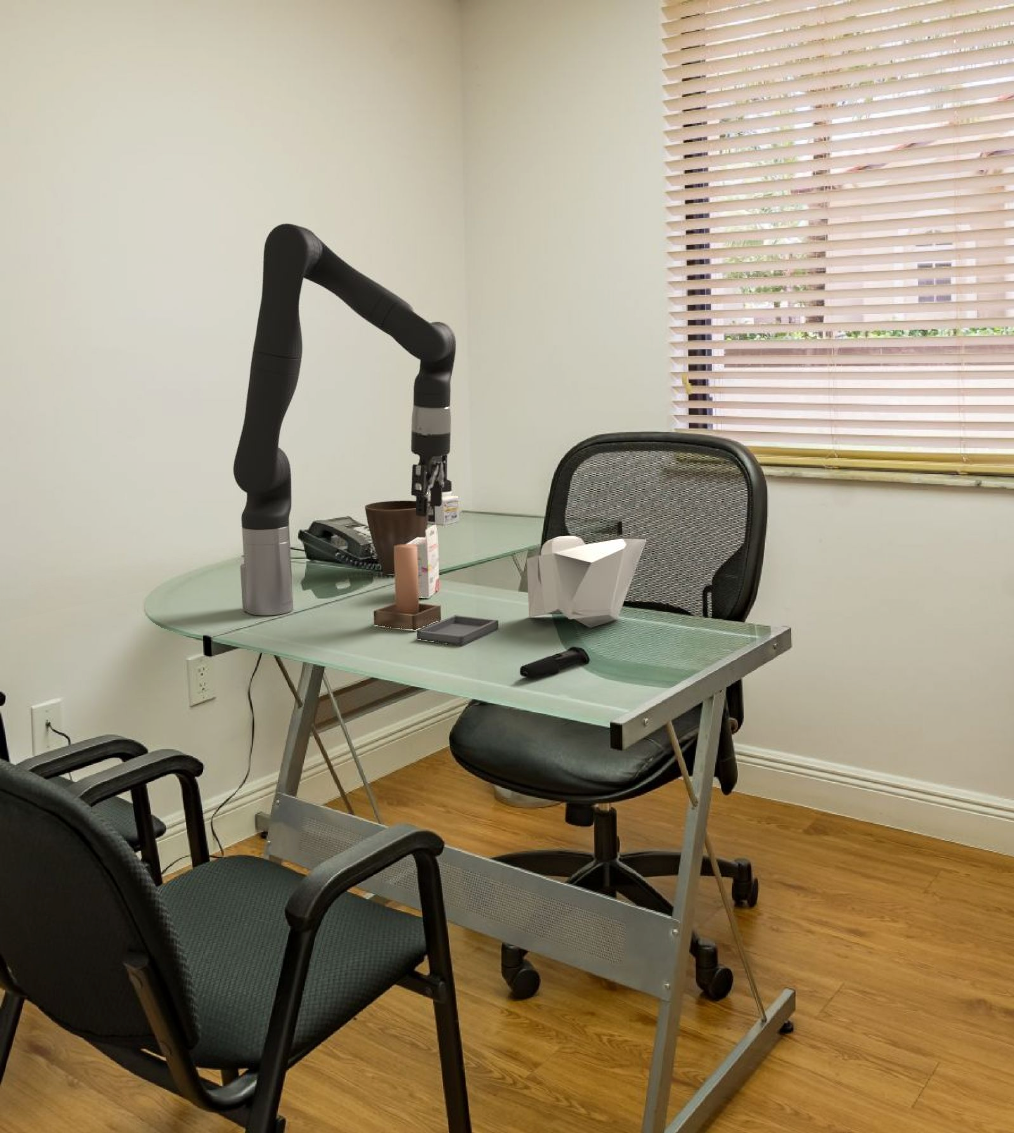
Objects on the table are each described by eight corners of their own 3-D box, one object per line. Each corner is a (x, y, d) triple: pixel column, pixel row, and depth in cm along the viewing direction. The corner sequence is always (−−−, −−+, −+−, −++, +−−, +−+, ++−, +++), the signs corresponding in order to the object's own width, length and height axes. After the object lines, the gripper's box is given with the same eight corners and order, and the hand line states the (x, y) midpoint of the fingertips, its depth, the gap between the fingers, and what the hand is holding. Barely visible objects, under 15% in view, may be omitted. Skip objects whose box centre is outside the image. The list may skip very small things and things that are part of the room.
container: (444, 525, 334) (443, 481, 332) (423, 523, 339) (422, 479, 336) (459, 521, 341) (458, 478, 338) (438, 519, 345) (437, 477, 342)
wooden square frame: (374, 626, 216) (373, 611, 216) (400, 616, 224) (400, 601, 224) (415, 631, 212) (414, 615, 211) (441, 620, 220) (440, 605, 219)
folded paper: (516, 531, 217) (558, 553, 202) (625, 522, 227) (672, 542, 212) (514, 617, 222) (554, 644, 207) (620, 604, 232) (667, 629, 217)
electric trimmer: (513, 682, 182) (513, 663, 181) (574, 660, 193) (573, 642, 192) (531, 686, 179) (531, 667, 178) (591, 664, 190) (591, 645, 190)
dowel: (391, 625, 217) (389, 547, 214) (404, 620, 221) (402, 543, 218) (411, 627, 215) (408, 549, 212) (423, 622, 219) (421, 545, 216)
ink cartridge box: (417, 590, 248) (415, 523, 245) (439, 590, 247) (438, 523, 244) (406, 598, 239) (404, 529, 237) (429, 599, 238) (427, 529, 236)
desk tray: (417, 640, 206) (416, 631, 205) (455, 623, 217) (454, 615, 217) (462, 646, 201) (461, 636, 201) (498, 629, 213) (498, 620, 213)
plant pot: (398, 582, 256) (396, 511, 253) (353, 574, 266) (351, 505, 262) (444, 571, 267) (443, 503, 264) (400, 564, 277) (398, 498, 274)
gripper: (424, 421, 226) (422, 500, 231) (399, 433, 213) (398, 517, 218) (461, 424, 224) (458, 504, 229) (437, 436, 211) (435, 521, 216)
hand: (428, 510), depth 224 cm, fingers open, 8 cm apart
